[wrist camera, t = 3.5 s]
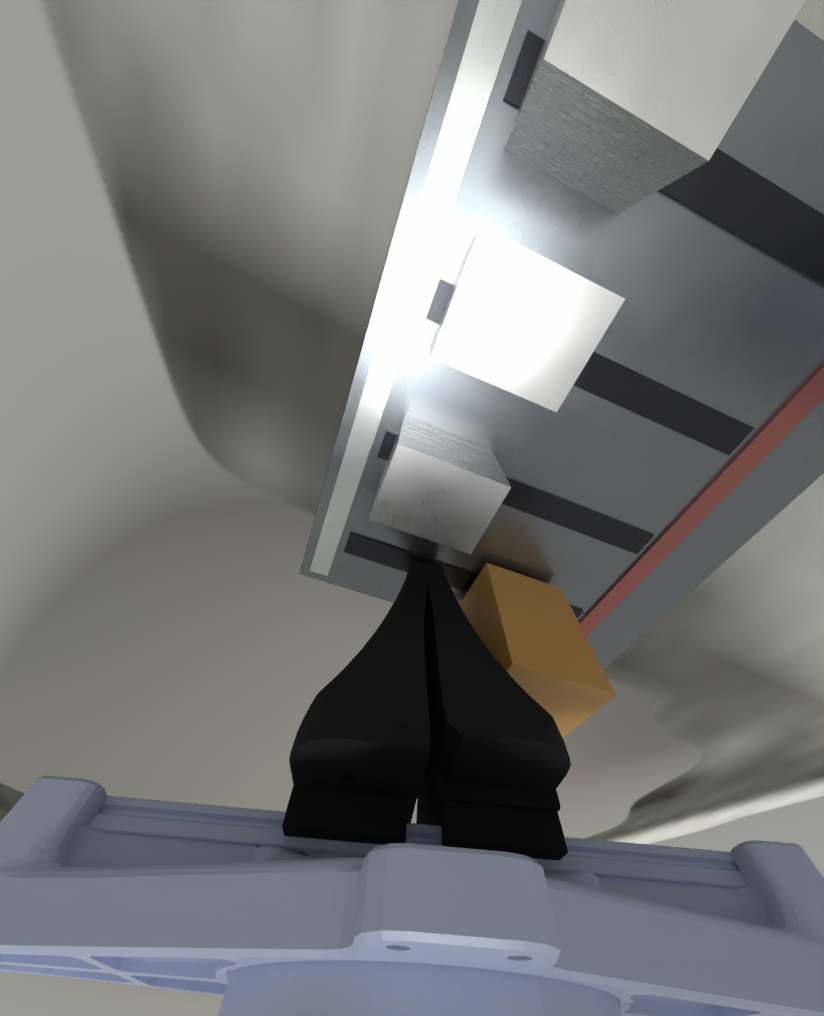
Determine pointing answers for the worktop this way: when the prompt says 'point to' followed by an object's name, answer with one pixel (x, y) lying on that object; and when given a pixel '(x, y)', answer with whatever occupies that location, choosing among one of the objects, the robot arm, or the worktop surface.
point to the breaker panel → (649, 330)
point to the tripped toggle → (538, 643)
